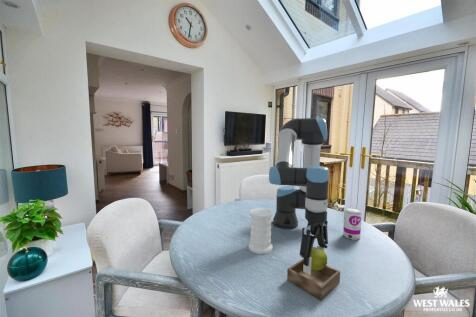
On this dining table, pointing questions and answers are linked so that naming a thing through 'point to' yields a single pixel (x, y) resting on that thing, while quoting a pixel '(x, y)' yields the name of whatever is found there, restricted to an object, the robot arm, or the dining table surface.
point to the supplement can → (352, 223)
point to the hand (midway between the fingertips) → (313, 267)
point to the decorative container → (260, 231)
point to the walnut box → (314, 279)
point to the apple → (318, 259)
